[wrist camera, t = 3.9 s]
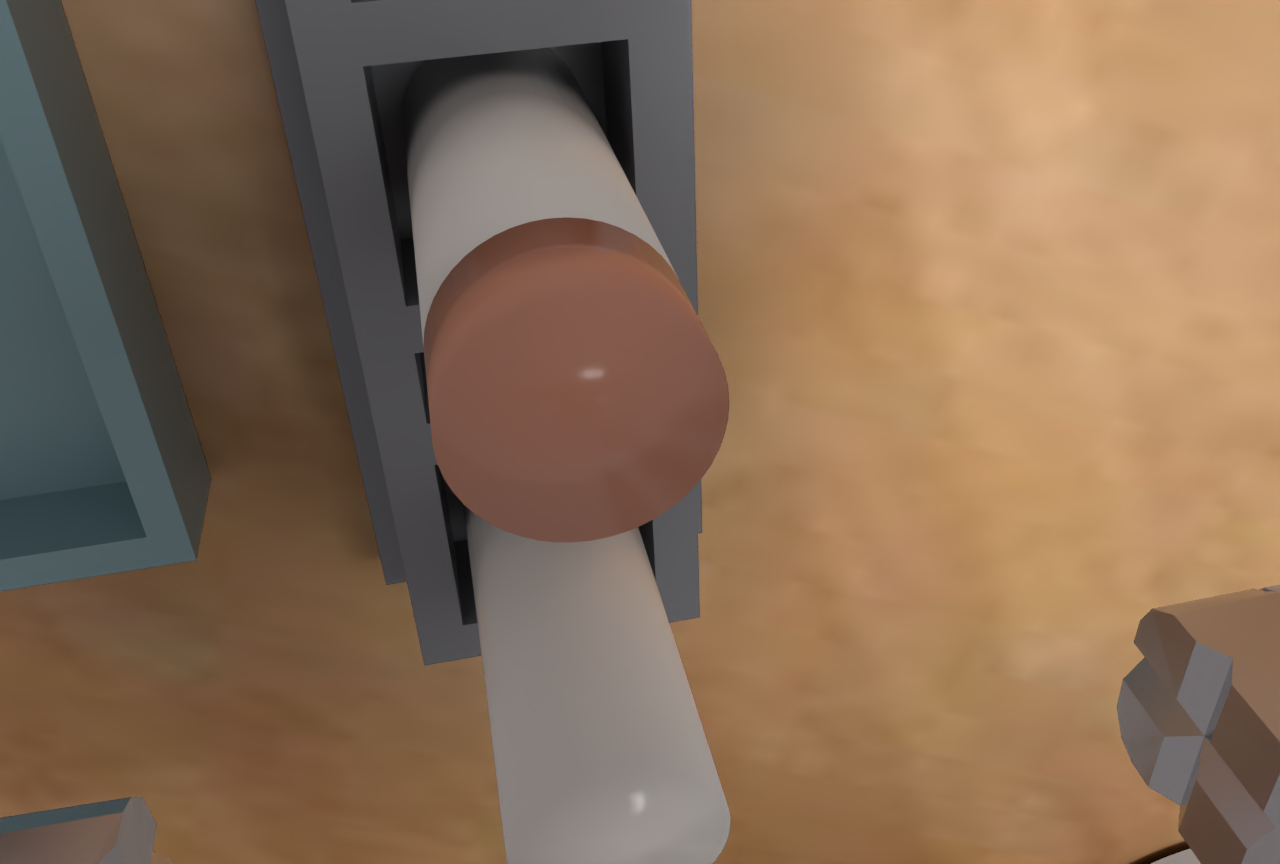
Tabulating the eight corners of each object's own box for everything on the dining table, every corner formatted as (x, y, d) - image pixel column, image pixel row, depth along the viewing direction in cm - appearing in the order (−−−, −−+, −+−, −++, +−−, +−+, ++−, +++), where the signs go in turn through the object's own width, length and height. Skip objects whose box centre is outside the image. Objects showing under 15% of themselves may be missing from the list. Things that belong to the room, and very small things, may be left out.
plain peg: (614, 503, 29) (730, 889, 20) (468, 526, 28) (519, 932, 19) (605, 378, 27) (730, 745, 18) (447, 400, 26) (493, 790, 17)
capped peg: (591, 197, 24) (729, 517, 15) (417, 219, 24) (453, 563, 15) (579, 20, 22) (728, 268, 13) (387, 39, 22) (408, 311, 13)
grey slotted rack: (692, 509, 31) (732, 611, 27) (385, 559, 29) (388, 671, 26) (663, -634, 18) (731, -698, 15) (124, -622, 17) (68, -688, 14)
